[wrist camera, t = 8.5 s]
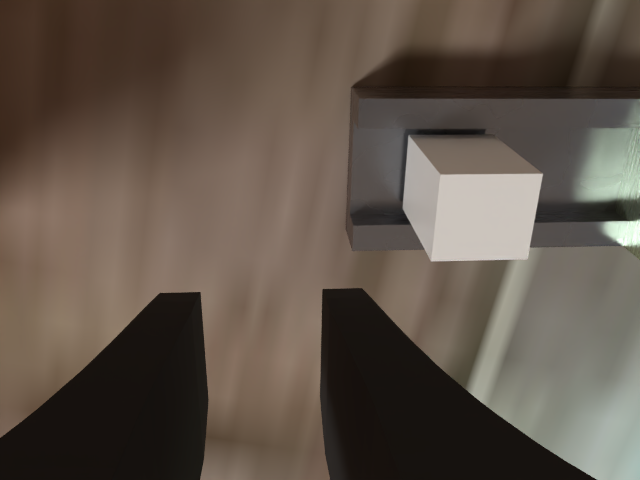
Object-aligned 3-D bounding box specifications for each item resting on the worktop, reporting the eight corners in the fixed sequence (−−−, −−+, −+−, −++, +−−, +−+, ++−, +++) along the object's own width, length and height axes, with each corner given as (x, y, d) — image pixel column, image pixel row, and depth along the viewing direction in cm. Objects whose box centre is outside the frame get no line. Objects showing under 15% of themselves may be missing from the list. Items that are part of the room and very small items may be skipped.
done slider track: (345, 228, 19) (357, 266, 17) (351, 86, 17) (364, 107, 15) (619, 224, 20) (667, 260, 17) (653, 87, 18) (711, 107, 16)
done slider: (402, 208, 18) (431, 261, 15) (408, 134, 17) (440, 174, 14) (482, 207, 18) (527, 259, 15) (493, 134, 17) (543, 173, 14)
